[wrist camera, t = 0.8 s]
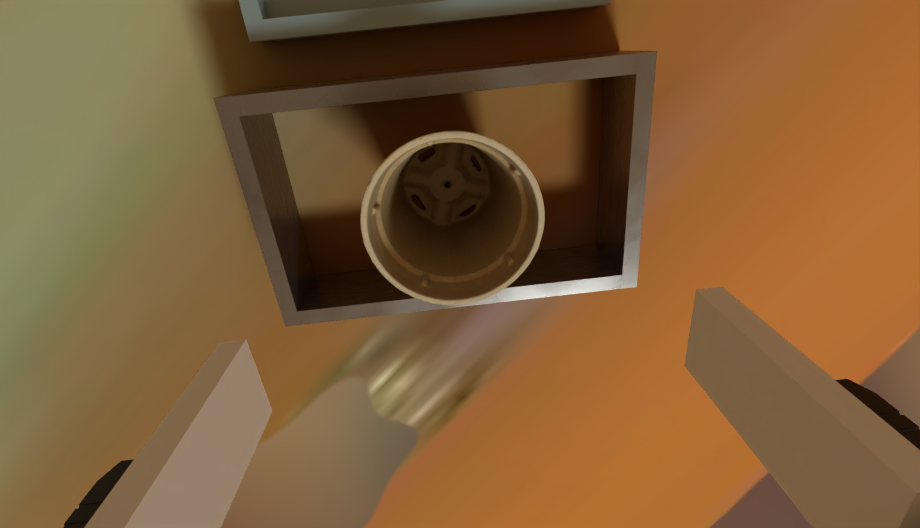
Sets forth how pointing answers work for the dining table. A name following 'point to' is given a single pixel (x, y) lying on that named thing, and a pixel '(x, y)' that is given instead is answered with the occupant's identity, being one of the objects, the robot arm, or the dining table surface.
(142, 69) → the dining table surface
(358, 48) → the dining table surface
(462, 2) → the tray
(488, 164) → the flower pot
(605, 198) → the metal holder
